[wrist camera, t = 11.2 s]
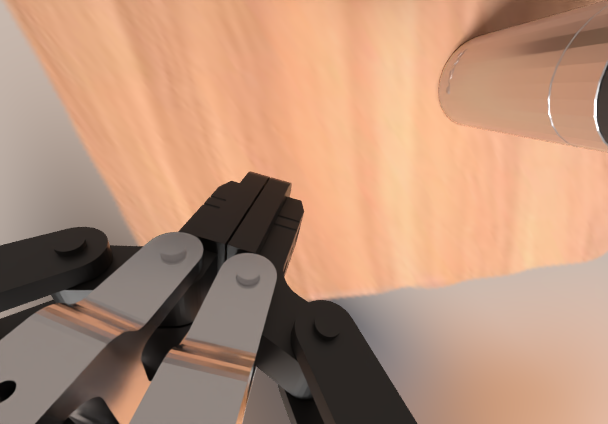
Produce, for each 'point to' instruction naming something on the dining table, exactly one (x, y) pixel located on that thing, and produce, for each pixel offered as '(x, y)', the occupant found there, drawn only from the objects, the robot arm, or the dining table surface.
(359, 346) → the robot arm
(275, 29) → the dining table surface
